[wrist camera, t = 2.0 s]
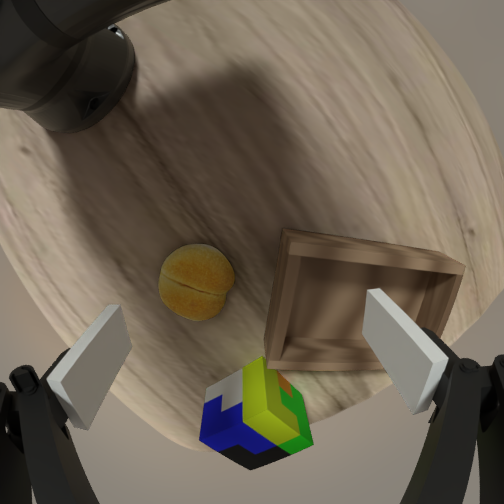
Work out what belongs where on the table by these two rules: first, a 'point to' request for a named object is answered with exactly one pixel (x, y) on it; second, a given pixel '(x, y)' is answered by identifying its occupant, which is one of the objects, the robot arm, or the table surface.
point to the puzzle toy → (255, 417)
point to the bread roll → (195, 281)
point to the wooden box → (349, 297)
